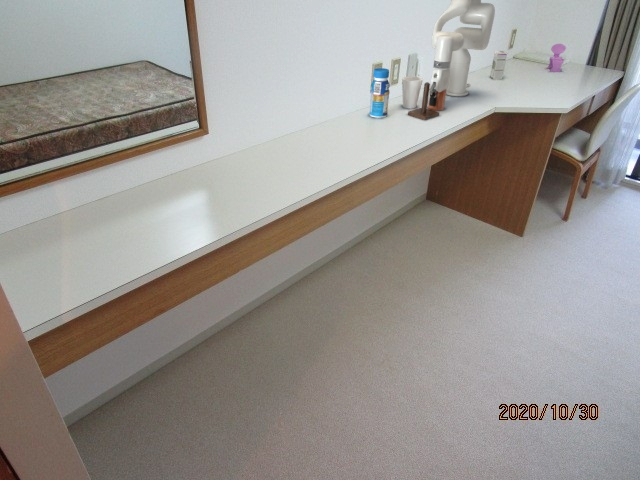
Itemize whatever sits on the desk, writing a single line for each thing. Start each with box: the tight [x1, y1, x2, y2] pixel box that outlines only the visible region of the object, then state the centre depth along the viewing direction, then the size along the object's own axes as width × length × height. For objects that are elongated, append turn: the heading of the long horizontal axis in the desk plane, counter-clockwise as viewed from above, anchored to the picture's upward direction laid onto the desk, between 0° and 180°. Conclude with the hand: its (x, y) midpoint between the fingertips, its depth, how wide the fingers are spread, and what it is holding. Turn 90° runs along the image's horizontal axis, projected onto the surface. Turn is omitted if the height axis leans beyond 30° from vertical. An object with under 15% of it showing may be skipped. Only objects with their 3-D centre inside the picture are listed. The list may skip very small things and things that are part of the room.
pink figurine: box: [546, 43, 567, 73], centre depth 276 cm, size 8×9×15 cm
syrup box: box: [489, 50, 508, 80], centre depth 260 cm, size 6×6×14 cm
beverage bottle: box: [369, 67, 391, 119], centre depth 200 cm, size 8×8×20 cm
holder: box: [407, 82, 440, 121], centre depth 201 cm, size 10×10×15 cm
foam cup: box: [401, 75, 423, 109], centre depth 213 cm, size 10×9×13 cm
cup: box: [427, 89, 447, 112], centre depth 212 cm, size 7×7×9 cm
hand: (436, 103), depth 213 cm, fingers open, 7 cm apart
